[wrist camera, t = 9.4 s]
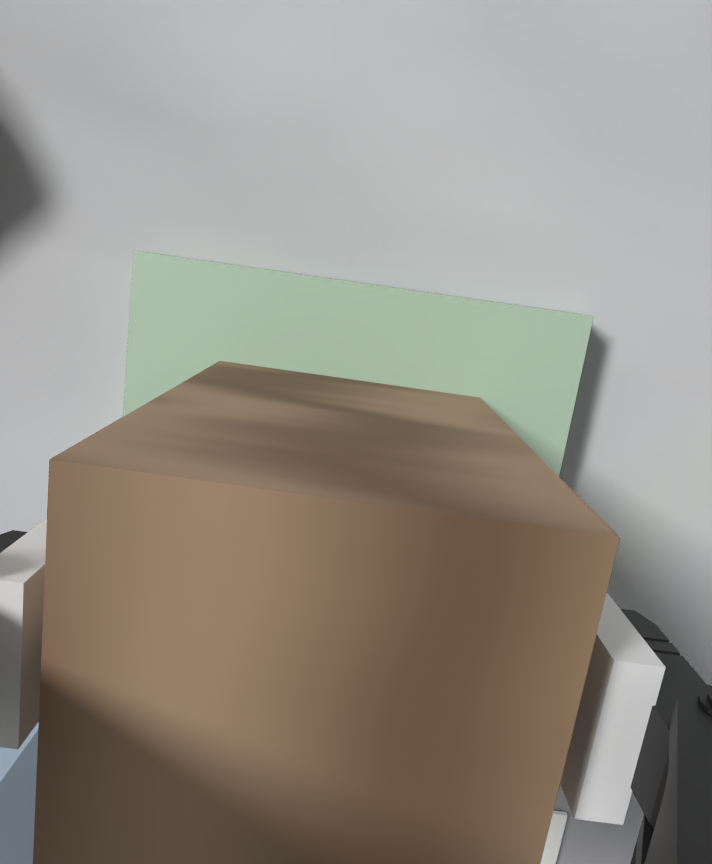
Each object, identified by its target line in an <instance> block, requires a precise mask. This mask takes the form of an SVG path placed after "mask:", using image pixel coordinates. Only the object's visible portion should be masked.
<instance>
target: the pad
mask: <svg viewBox="0 0 712 864" xmlns="http://www.w3.org/2000/svg"><path fill="white" fill-rule="evenodd" d="M593 317H594V316H588V315H582V314H575V313H568V312H561V311H554V310H547V309H540V308H533V307H526V306H519V305H512V304H505V303H498V302H491V301H484V300H477V299H470V298H463V297H456V296H449V295H442V294H435V293H428V292H421V291H414V290H407V289H400V288H393V287H386V286H379V285H372V284H365V283H358V282H351V281H344V280H337V279H330V278H323V277H316V276H309V275H302V274H295V273H288V272H281V271H274V270H267V269H260V268H253V267H246V266H239V265H232V264H225V263H218V262H211V261H204V260H197V259H190V258H183V257H176V256H169V255H162V254H155V253H148V252H140V251H133V263H132V279H131V295H130V311H129V327H128V343H127V358H126V374H125V390H124V406H123V417H124V416H125V415H127V414H129V413H131V412H132V411H134V410H136V409H137V408H139V407H141V406H143V405H144V404H146V403H148V402H150V401H151V400H153V399H155V398H156V397H158V396H160V395H162V394H163V393H165V392H167V391H168V390H170V389H172V388H174V387H175V386H177V385H179V384H181V383H182V382H184V381H186V380H187V379H189V378H191V377H193V376H194V375H196V374H198V373H200V372H201V371H203V370H205V369H206V368H208V367H210V366H212V365H213V364H215V363H217V362H218V361H226V362H233V363H240V364H247V365H254V366H261V367H268V368H275V369H282V370H289V371H296V372H303V373H310V374H318V375H325V376H332V377H339V378H346V379H353V380H360V381H367V382H374V383H381V384H388V385H395V386H402V387H409V388H416V389H424V390H431V391H438V392H445V393H452V394H459V395H466V396H473V397H480V398H481V399H482V400H483V401H484V402H485V403H486V404H487V405H488V406H489V407H490V408H491V409H492V410H493V411H494V412H495V413H496V414H497V415H498V416H499V417H500V418H501V419H502V420H503V421H504V422H505V423H506V424H507V425H508V426H509V427H510V428H511V429H512V430H513V431H514V432H515V433H516V434H517V435H518V436H519V437H520V438H521V439H522V440H523V441H524V442H525V443H526V444H527V445H528V446H529V447H530V448H531V449H532V450H533V451H534V452H535V453H536V454H537V455H538V456H539V457H540V458H541V459H542V460H543V461H544V462H545V463H546V464H547V465H548V466H549V467H550V468H551V469H552V470H553V471H554V472H555V473H556V474H557V475H558V476H559V475H560V470H561V466H562V461H563V456H564V452H565V447H566V442H567V438H568V433H569V428H570V424H571V419H572V414H573V410H574V405H575V401H576V396H577V391H578V387H579V382H580V377H581V373H582V368H583V363H584V359H585V354H586V349H587V345H588V340H589V336H590V331H591V326H592V322H593Z"/></svg>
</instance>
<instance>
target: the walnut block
mask: <svg viewBox="0 0 712 864" xmlns="http://www.w3.org/2000/svg"><path fill="white" fill-rule="evenodd" d="M619 540H620V537H619V536H618V535H617V534H616V533H615V532H614V531H613V530H612V529H611V528H610V527H609V526H608V525H607V524H606V523H605V522H604V521H603V520H602V519H601V518H600V517H599V516H598V515H597V514H596V513H595V512H594V511H593V510H592V509H591V508H590V507H589V506H588V505H587V504H586V503H585V502H584V501H583V500H582V499H581V498H580V497H579V496H578V495H577V494H576V493H575V492H574V491H573V490H572V489H571V488H570V487H569V486H568V485H567V484H566V483H565V482H564V481H563V480H562V479H561V478H560V477H559V476H558V475H557V474H556V473H555V472H554V471H553V470H552V469H551V468H550V467H549V466H548V465H547V464H546V463H545V462H544V461H543V460H542V459H541V458H540V457H539V456H538V455H537V454H536V453H535V452H534V451H533V450H532V449H531V448H530V447H529V446H528V445H527V444H526V443H525V442H524V441H523V440H522V439H521V438H520V437H519V436H518V435H517V434H516V433H515V432H514V431H513V430H512V429H511V428H510V427H509V426H508V425H507V424H506V423H505V422H504V421H503V420H502V419H501V418H500V417H499V416H498V415H497V414H496V413H495V412H494V411H493V410H492V409H491V408H490V407H489V406H488V405H487V404H486V403H485V402H484V401H483V400H482V399H481V398H480V397H473V396H466V395H459V394H452V393H445V392H438V391H431V390H424V389H416V388H409V387H402V386H395V385H388V384H381V383H374V382H367V381H360V380H353V379H346V378H339V377H332V376H325V375H318V374H310V373H303V372H296V371H289V370H282V369H275V368H268V367H261V366H254V365H247V364H240V363H233V362H226V361H218V362H217V363H215V364H213V365H212V366H210V367H208V368H206V369H205V370H203V371H201V372H200V373H198V374H196V375H194V376H193V377H191V378H189V379H187V380H186V381H184V382H182V383H181V384H179V385H177V386H175V387H174V388H172V389H170V390H168V391H167V392H165V393H163V394H162V395H160V396H158V397H156V398H155V399H153V400H151V401H150V402H148V403H146V404H144V405H143V406H141V407H139V408H137V409H136V410H134V411H132V412H131V413H129V414H127V415H125V416H124V417H122V418H120V419H118V420H117V421H115V422H113V423H112V424H110V425H108V426H106V427H105V428H103V429H101V430H100V431H98V432H96V433H94V434H93V435H91V436H89V437H87V438H86V439H84V440H82V441H81V442H79V443H77V444H75V445H74V446H72V447H70V448H68V449H67V450H65V451H63V452H62V453H60V454H58V455H56V456H55V457H53V458H51V459H50V460H49V483H48V507H47V531H46V556H45V580H44V604H43V628H42V653H41V677H40V701H39V726H38V750H37V774H36V798H35V823H34V847H33V864H541V860H542V856H543V851H544V847H545V843H546V839H547V835H548V831H549V827H550V823H551V819H552V815H553V810H554V806H555V802H556V798H557V794H558V790H559V786H560V782H561V778H562V774H563V769H564V765H565V761H566V757H567V753H568V749H569V745H570V741H571V737H572V733H573V728H574V724H575V720H576V716H577V712H578V708H579V704H580V700H581V696H582V691H583V687H584V683H585V679H586V675H587V671H588V667H589V663H590V659H591V655H592V650H593V646H594V642H595V638H596V634H597V630H598V626H599V622H600V618H601V614H602V609H603V605H604V601H605V597H606V593H607V589H608V585H609V581H610V577H611V573H612V568H613V564H614V560H615V556H616V552H617V548H618V544H619Z"/></svg>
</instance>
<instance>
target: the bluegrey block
mask: <svg viewBox="0 0 712 864" xmlns="http://www.w3.org/2000/svg"><path fill="white" fill-rule="evenodd" d="M38 726H39V722H38V723H37V725H36V726H35V727H34V729H33V730H32V731H31V733H30V734H29V736H28V737H27V738H26V740H25V741H24V742H23V744H22V745H21V747H20V748H19V749H11V748H3V747H0V864H33V847H34V823H35V798H36V774H37V750H38Z"/></svg>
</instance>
